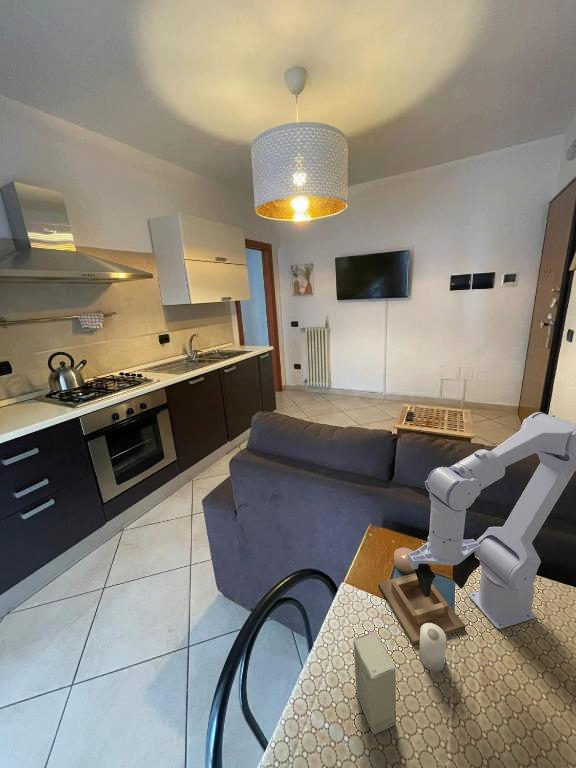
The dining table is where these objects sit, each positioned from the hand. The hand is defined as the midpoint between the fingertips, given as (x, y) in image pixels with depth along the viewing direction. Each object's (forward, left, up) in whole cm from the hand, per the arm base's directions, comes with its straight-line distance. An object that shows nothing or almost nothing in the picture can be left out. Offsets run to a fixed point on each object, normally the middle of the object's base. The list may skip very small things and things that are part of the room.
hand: (441, 588), depth 62 cm
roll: (+5, +4, -11) cm, 12 cm away
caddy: (+1, -6, -11) cm, 12 cm away
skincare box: (+19, +8, -11) cm, 23 cm away
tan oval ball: (-3, -17, -11) cm, 20 cm away
